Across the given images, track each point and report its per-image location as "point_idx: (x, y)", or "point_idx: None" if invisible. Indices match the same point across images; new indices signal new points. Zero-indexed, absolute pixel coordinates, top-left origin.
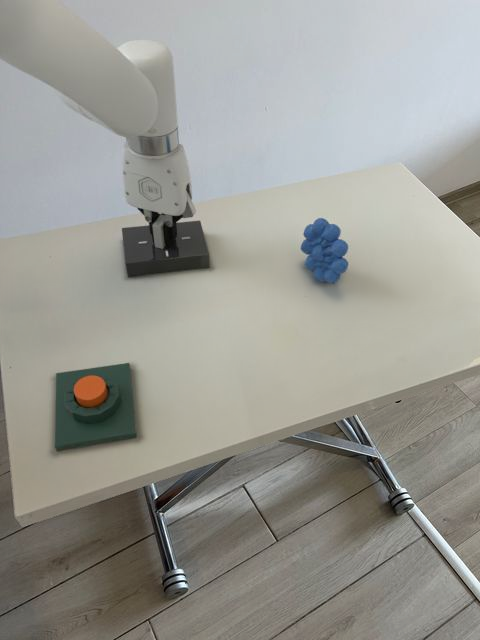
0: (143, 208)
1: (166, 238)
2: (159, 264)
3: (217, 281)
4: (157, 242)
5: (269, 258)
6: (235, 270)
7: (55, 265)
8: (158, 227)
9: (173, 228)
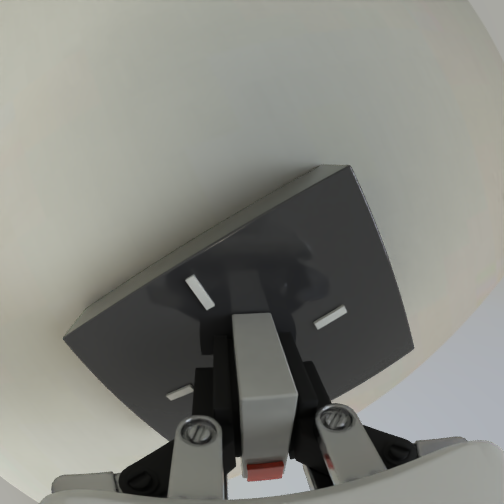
0: (389, 480)
1: (218, 358)
2: (216, 234)
3: (40, 259)
4: (260, 328)
5: (13, 373)
6: (32, 319)
7: (491, 168)
8: (254, 394)
9: (193, 413)
